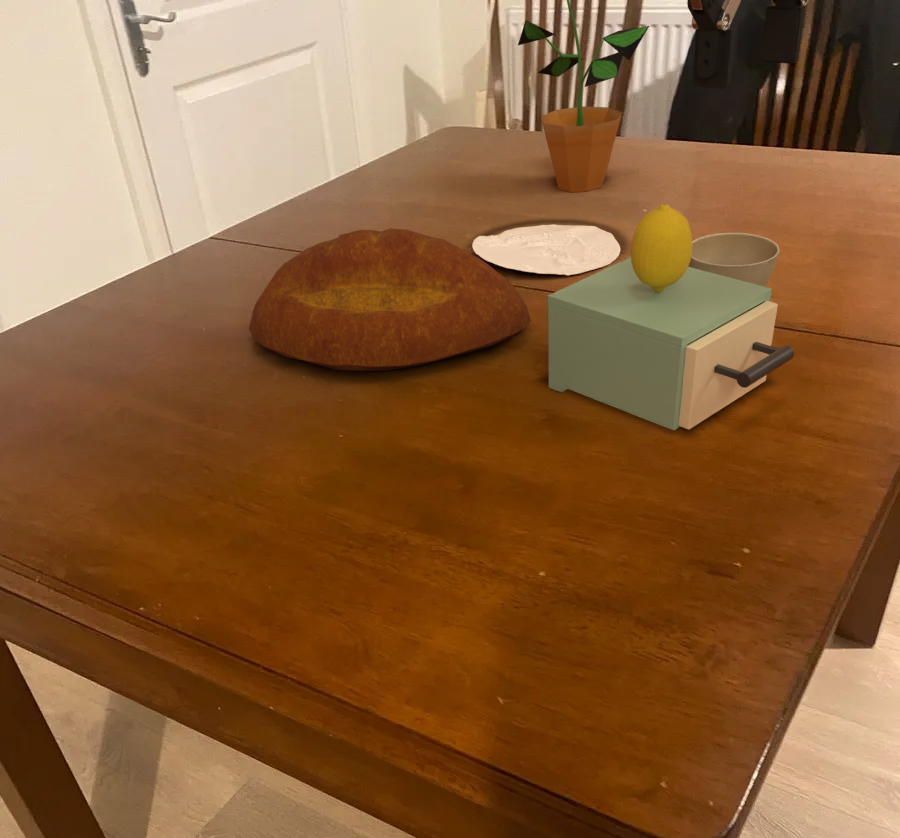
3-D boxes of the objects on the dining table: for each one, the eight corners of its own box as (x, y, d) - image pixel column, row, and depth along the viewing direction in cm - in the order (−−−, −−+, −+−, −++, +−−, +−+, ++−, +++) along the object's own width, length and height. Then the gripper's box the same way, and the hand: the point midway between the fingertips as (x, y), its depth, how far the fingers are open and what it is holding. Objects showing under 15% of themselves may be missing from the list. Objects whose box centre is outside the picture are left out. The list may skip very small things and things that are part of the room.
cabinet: (757, 383, 92) (772, 288, 86) (673, 437, 86) (682, 338, 79) (633, 342, 102) (638, 253, 95) (548, 387, 95) (547, 295, 89)
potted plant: (509, 178, 153) (501, -40, 134) (617, 163, 154) (625, -54, 135) (536, 209, 139) (532, -28, 120) (654, 193, 141) (669, -44, 122)
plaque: (452, 272, 121) (452, 261, 120) (496, 224, 135) (496, 213, 134) (603, 288, 116) (604, 276, 115) (631, 236, 130) (632, 226, 129)
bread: (285, 305, 118) (265, 204, 110) (539, 304, 112) (538, 198, 104) (226, 381, 102) (198, 270, 94) (518, 385, 96) (515, 267, 88)
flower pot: (665, 303, 109) (670, 242, 104) (740, 287, 111) (748, 227, 106) (707, 335, 102) (715, 270, 97) (787, 317, 103) (798, 254, 99)
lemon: (644, 307, 85) (649, 218, 80) (619, 286, 89) (623, 200, 84) (698, 297, 86) (707, 208, 81) (672, 276, 90) (679, 191, 85)
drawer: (801, 392, 88) (816, 313, 83) (724, 444, 82) (735, 362, 77) (647, 341, 99) (652, 269, 94) (569, 383, 93) (570, 308, 88)
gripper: (750, -200, 58) (723, 101, 69) (886, -215, 66) (843, 56, 77) (654, -188, 63) (643, 93, 73) (792, -203, 71) (764, 51, 82)
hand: (745, 73), depth 75 cm, fingers open, 9 cm apart
